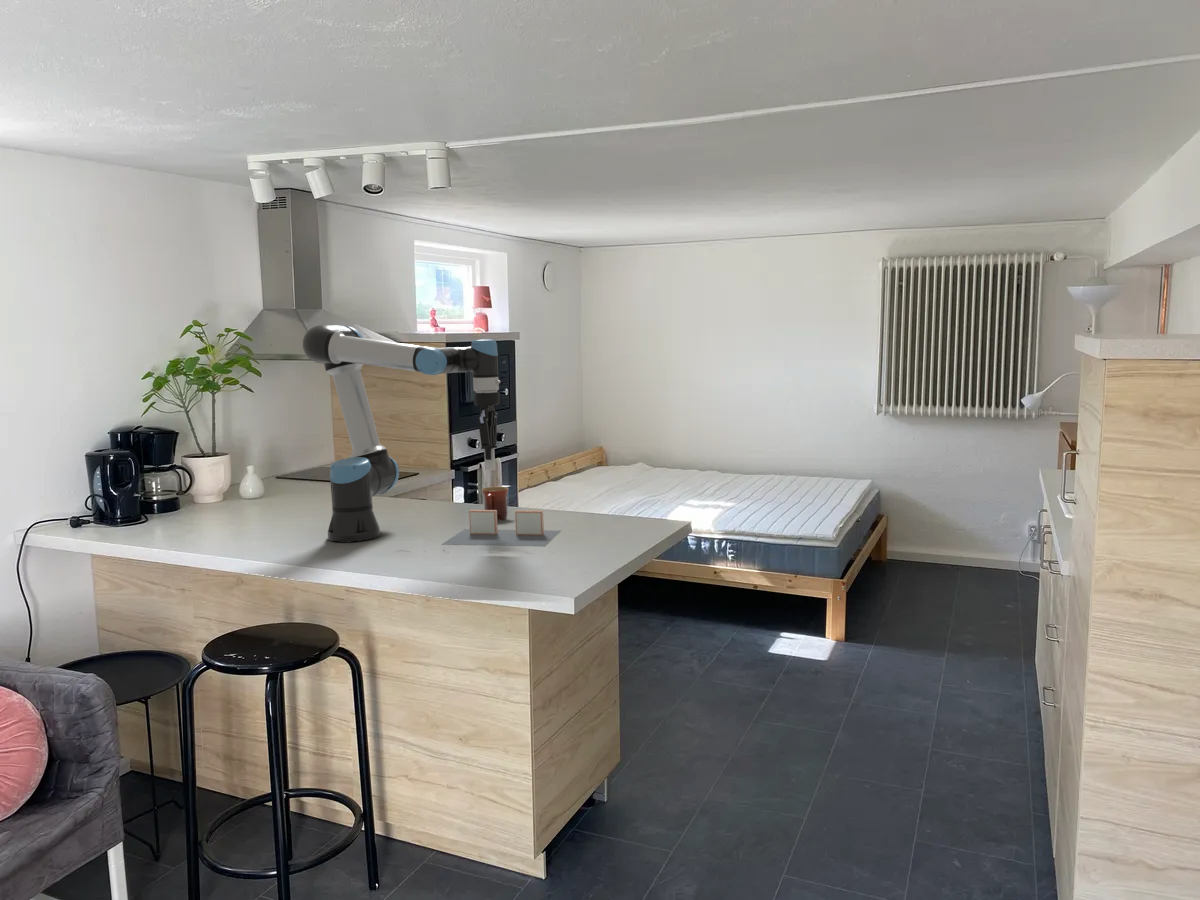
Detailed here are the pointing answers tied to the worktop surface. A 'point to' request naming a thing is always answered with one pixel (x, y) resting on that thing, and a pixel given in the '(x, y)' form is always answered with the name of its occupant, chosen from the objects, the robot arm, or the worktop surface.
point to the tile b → (529, 522)
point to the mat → (501, 538)
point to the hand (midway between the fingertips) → (490, 470)
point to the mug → (496, 500)
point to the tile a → (483, 522)
